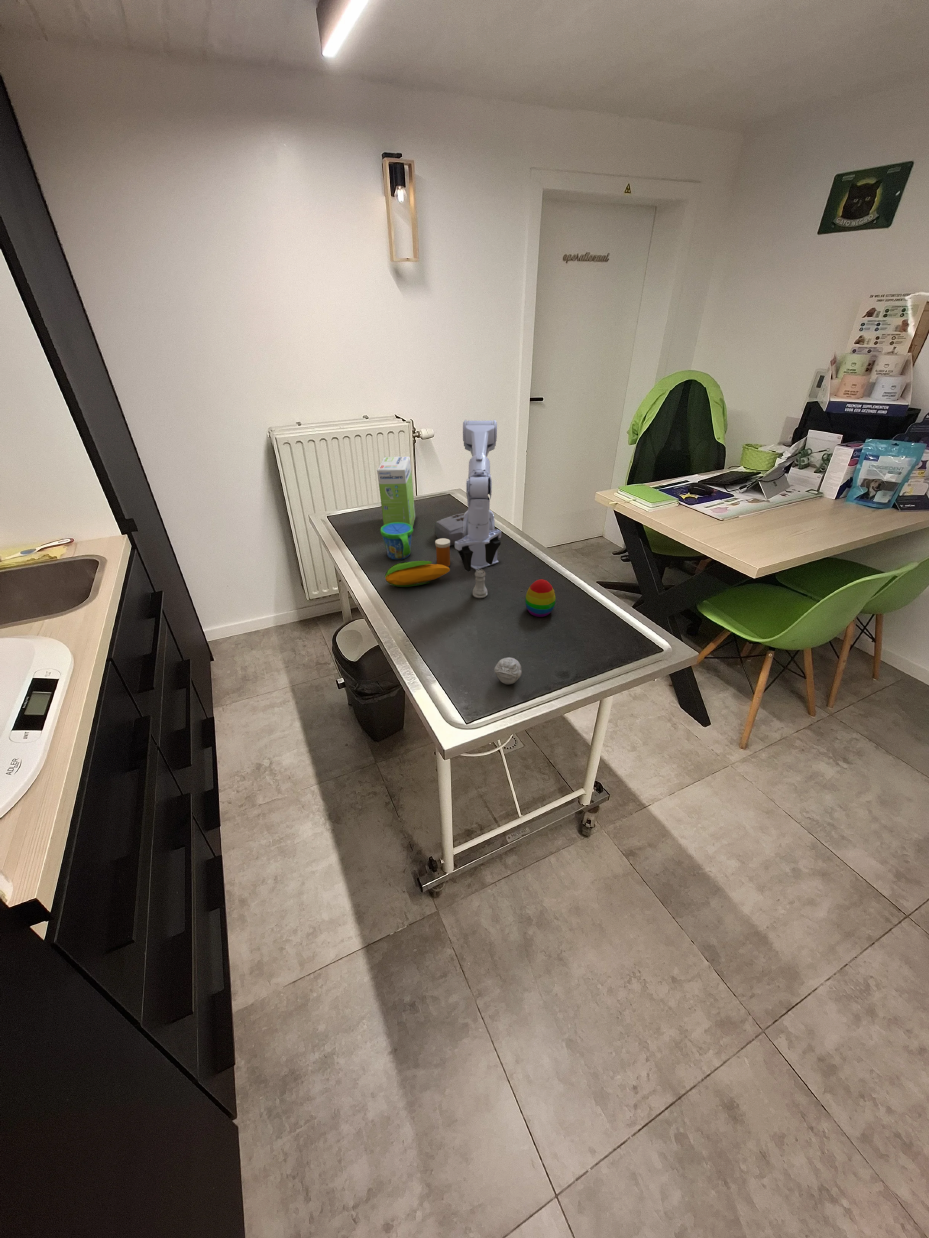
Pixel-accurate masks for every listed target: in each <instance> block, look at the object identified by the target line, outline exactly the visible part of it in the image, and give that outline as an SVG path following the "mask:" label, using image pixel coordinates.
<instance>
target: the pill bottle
mask: <svg viewBox="0 0 929 1238" xmlns="http://www.w3.org/2000/svg"><path fill="white" fill-rule="evenodd" d="M434 545H435V553H436V557H435V558H436V564H440V565H444V566H446V567H449V566H450V565H451V548H450V546H451V545H450V540H449V539H446V538H440V539H438V538H437V539H435V541H434Z"/></svg>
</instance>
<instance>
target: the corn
mask: <svg viewBox="0 0 929 1238" xmlns="http://www.w3.org/2000/svg"><path fill="white" fill-rule="evenodd" d="M450 571H451V568H450V567H449V566H448V567H446V566H444V565H440V564H437V563H433V561H431V560H414V561H413V560H412V561H404V562H403V561H402V562H399V563H395V564H393V565H391V566H390V567H389V568H388V569H387V570H386V571H385V575H384V578H385V581H386V582H387V583H388V584H389V585H390V586H393V587H397V588H409V587H415V586H416V587H417V586H423V585H426V584H430V583H431V581H434V580H437V579H439V578H441V577H442V576H445V575H447V573H449V572H450Z"/></svg>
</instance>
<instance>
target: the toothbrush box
mask: <svg viewBox="0 0 929 1238" xmlns="http://www.w3.org/2000/svg"><path fill="white" fill-rule="evenodd" d="M411 465H412V463H411V456H384V457H383V459H382V461H381V462H380V464H379V466H378V468H377V469H376V473H377V481H378V488H379V489H378V490H379V498H380V507H381V514H382V521H383V526H384V525H386V524H388V523H393V522H403V523H408V524H410V525H411V526H412V528H413V527H414V524H415V521H416V508H415V507H416V506H415V498H414V497H415V496H414V487H413V477H412V475H413V474H412V466H411ZM413 529H414V528H413Z"/></svg>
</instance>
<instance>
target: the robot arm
mask: <svg viewBox="0 0 929 1238" xmlns="http://www.w3.org/2000/svg"><path fill="white" fill-rule="evenodd" d="M497 439H498V421H497V420H496V419H493V420H491V419H490V420H485V419H484V420H483V419H481V420H478V419H477V420H475V419H474V420H473V419H472V420H471V419H470V420H469V419H468V420H467V419H464V421H462V441H463V447H464V450H466V451H468V452H470V455H471V457H470V459H469V460H468V471H467V472H468V476H467V478H466V483H465V487H466V488H465V492H466V493H465V494H466V501H467V510H466V511H465V512H464V513H465V514H464V522H463V534H464V536H465V537H464V538H462V539H460V540H458V541H456V542H455V545H454V549H455V550H456V551H457V553H458V554H459V556H460V559H461V561H462V565H463V569H464V570H465V571H466V572H471V570H472V569H473V570H475V571H476V570H477V571H478V569H479V570H481V569H484V568H487V567H490V566H492V565H495V564H498V563H499V560H498V549H499V547H500V546H501V544H502V541H501V538H502V530H499V529H495V525H496V524H495V520H496V519H495V513H494V512H493V511H492V510H491V509H490V507H491V506H490V505H491V504H490V503H491V499H492V494H493V493H492V492H493V480H492V474H491V461H490V459H489V458H488V455H489V452H491V451H494V450H495V449H496V447H497V441H498V440H497Z"/></svg>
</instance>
